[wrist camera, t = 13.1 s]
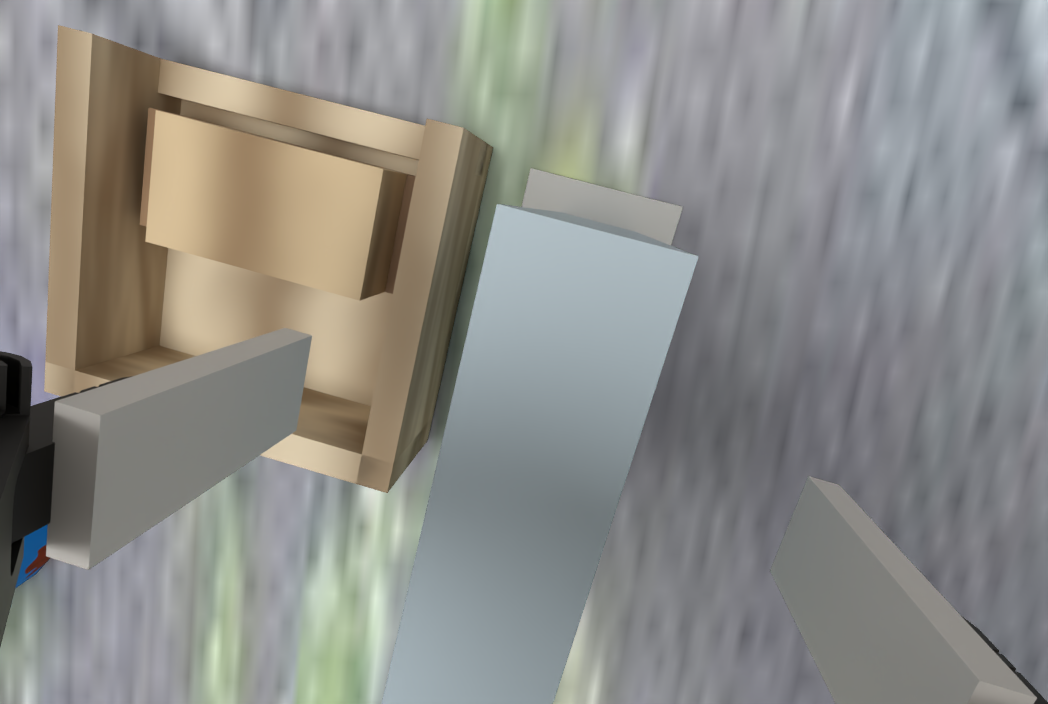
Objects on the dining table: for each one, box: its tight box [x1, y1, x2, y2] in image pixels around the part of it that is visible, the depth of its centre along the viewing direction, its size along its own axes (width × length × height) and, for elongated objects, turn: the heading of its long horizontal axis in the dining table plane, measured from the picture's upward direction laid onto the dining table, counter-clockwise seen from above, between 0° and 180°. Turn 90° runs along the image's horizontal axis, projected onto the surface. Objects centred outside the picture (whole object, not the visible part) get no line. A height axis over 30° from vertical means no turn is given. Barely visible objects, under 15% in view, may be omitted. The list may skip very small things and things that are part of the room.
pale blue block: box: [382, 204, 699, 704], centre depth 19 cm, size 11×4×17 cm, turn 166°
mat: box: [522, 168, 683, 245], centre depth 28 cm, size 7×14×1 cm, turn 166°
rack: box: [44, 25, 493, 493], centre depth 26 cm, size 16×15×6 cm
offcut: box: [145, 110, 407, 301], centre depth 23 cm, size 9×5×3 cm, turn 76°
